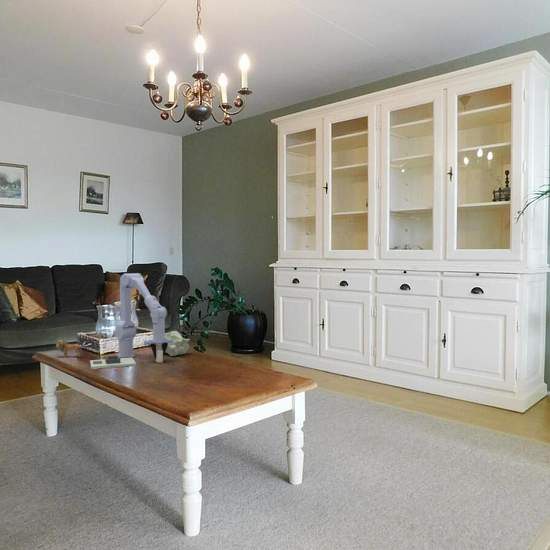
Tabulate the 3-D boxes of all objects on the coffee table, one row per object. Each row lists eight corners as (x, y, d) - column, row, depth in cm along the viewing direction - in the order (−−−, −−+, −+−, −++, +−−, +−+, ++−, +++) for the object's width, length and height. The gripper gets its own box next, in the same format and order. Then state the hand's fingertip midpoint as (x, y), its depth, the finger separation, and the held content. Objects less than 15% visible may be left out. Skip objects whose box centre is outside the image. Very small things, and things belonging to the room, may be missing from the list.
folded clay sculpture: (183, 366, 262) (195, 342, 260) (163, 364, 253) (176, 338, 251) (168, 349, 274) (180, 325, 272) (149, 345, 265) (161, 321, 263)
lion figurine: (54, 358, 251) (54, 340, 251) (58, 356, 256) (57, 339, 256) (83, 357, 252) (83, 340, 252) (86, 355, 257) (86, 338, 257)
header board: (90, 362, 240) (90, 356, 240) (132, 359, 248) (132, 353, 247) (91, 369, 226) (91, 362, 226) (135, 365, 234) (135, 359, 234)
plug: (155, 360, 246) (155, 348, 246) (161, 360, 247) (161, 348, 247) (156, 362, 241) (156, 350, 241) (162, 362, 243) (162, 349, 242)
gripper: (145, 333, 237) (145, 361, 238) (174, 331, 243) (175, 358, 243) (143, 331, 244) (143, 358, 244) (172, 329, 249) (172, 356, 250)
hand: (158, 358), depth 244 cm, fingers closed on plug, 3 cm apart
